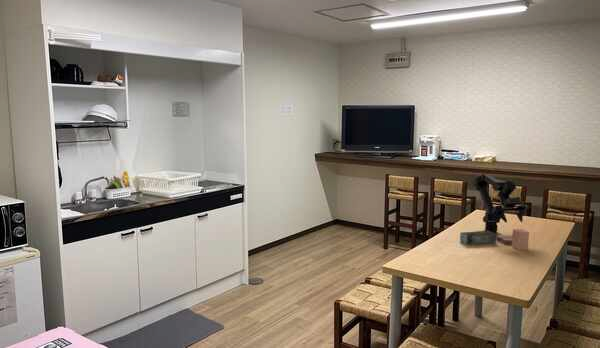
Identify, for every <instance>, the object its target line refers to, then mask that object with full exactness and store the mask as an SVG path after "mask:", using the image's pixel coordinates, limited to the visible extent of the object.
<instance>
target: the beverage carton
mask: <svg viewBox="0 0 600 348" xmlns="http://www.w3.org/2000/svg"><path fill="white" fill-rule="evenodd" d="M459 234H460V235H459V242H460V243H462V244H464V245H466V246H475V245H477V246H478V245H488V244H489V245H491V244H492V245H493V244H496V242H497V240H496V235H497V233H493V232H491V231H489V230H488V231H487V230H486V231H485V230H479V231H467V232H465V231H463V232H462V231H461V232H460V233H459Z"/></svg>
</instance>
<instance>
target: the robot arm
mask: <svg viewBox="0 0 600 348" xmlns="http://www.w3.org/2000/svg"><path fill="white" fill-rule="evenodd" d="M472 181H473V182H472V184H473V187H474V188H475V190H477V191H478V192H479V194H480V197H481V199H482V202H483V206H484V208H485V211H484V216H483V218H482V221H483V222H484V223H485V226H484V231H486V230H487V231H488V230H489V231H491V232H493V233H496V234H497V232H498V224H500V220H502V221H503V222H505V223H508V220H507V216H506V214H505V212H515V214H516V216H517V218H518V221H520V222H521V223H523V218H524V216H523V215H524V213H526V211H527V210H528V207H527V205H525V204H520V205H519V203H521V201H522V200H521V197H520V196H516V197H511V196H510V195H512V194H513V193H514V191H515V190H516V189H517V185H516V184H515V183H513V182H512V181H511V180H507V181H503V180H500V179H499V180H498V179H497V178H495V177H494V176H493V175H491V174H489V173H482V174H481V175H479V176H477V177H475V179H474V180H472ZM489 185H490V186H491V189H492V190H494V191H495V192H497V194H496V198H499V201H500V204H499V205H495V206H494V203H493V201H492V198H491V195H490V193H489V191H488V186H489ZM517 204H518V206H517ZM516 206H517V207H516Z"/></svg>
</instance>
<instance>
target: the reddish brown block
mask: <svg viewBox="0 0 600 348" xmlns="http://www.w3.org/2000/svg"><path fill="white" fill-rule="evenodd" d="M511 235H512V244H511V247H512V248H513V249H515V250H519V251H521V250H522V251H523V250H529V239H530V232H529V231H528V230H525V229H523V228H522V229H519V228H518V229H512V234H511Z"/></svg>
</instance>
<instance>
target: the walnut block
mask: <svg viewBox="0 0 600 348" xmlns="http://www.w3.org/2000/svg"><path fill="white" fill-rule="evenodd" d="M512 235H513V234H498V235H497V234H496V241H498V242H499V243H502V244H503V245H512Z"/></svg>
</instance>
